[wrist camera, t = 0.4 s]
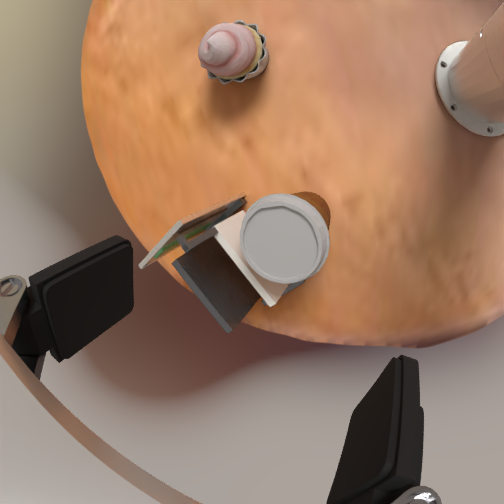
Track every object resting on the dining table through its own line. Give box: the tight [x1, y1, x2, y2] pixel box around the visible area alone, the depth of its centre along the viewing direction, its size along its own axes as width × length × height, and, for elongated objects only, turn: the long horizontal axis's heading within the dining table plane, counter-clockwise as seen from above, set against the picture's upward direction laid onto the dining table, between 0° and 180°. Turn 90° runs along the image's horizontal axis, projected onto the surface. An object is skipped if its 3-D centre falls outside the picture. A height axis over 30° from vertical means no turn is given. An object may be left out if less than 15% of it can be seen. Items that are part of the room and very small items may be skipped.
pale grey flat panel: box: [176, 210, 290, 307], centre depth 37 cm, size 1×13×14 cm, turn 42°
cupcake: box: [198, 20, 269, 84], centre depth 30 cm, size 9×9×10 cm
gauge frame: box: [139, 192, 306, 333], centre depth 38 cm, size 10×15×15 cm, turn 42°
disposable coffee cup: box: [240, 192, 330, 284], centre depth 34 cm, size 10×10×12 cm
